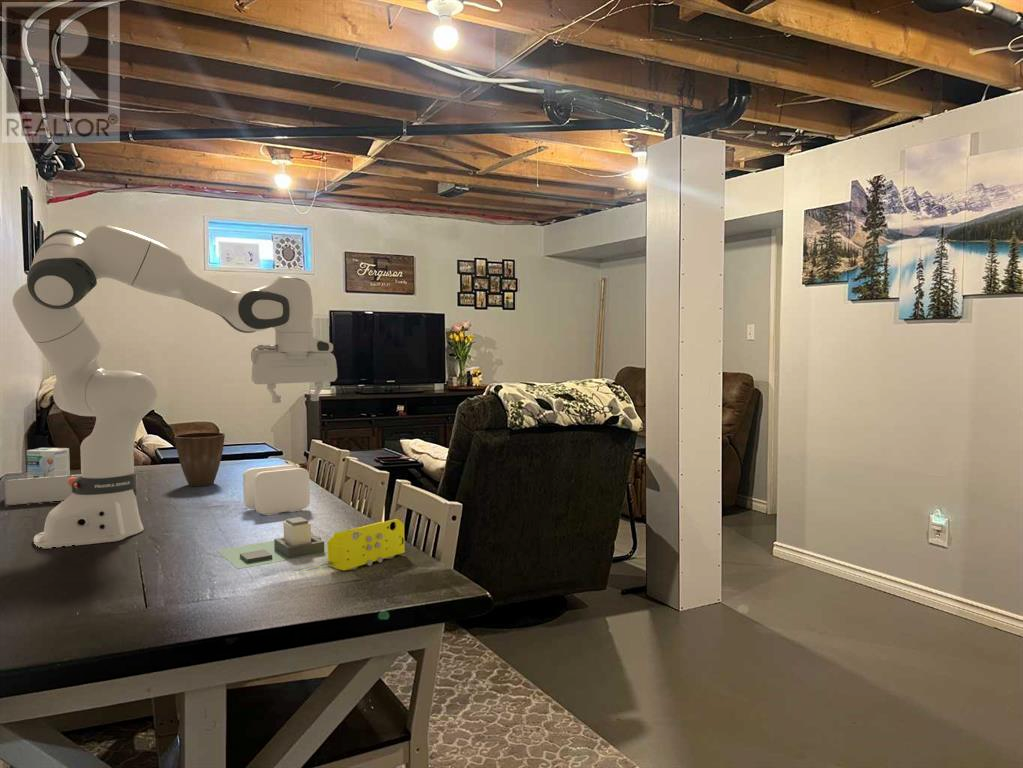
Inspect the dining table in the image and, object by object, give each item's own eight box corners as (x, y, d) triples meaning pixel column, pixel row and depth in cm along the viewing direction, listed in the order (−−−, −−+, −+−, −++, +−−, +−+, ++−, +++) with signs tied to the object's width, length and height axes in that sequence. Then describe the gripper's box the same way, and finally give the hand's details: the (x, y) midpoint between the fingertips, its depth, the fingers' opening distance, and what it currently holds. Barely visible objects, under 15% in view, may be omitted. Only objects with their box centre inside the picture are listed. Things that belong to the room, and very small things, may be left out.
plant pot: (184, 480, 243) (183, 432, 243) (231, 479, 245) (230, 431, 244) (169, 489, 229) (167, 438, 228) (218, 488, 230) (217, 437, 229)
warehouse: (126, 488, 232) (125, 464, 232) (125, 497, 219) (124, 471, 219) (12, 498, 218) (11, 473, 218) (4, 507, 206) (3, 481, 205)
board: (238, 576, 142) (237, 556, 142) (216, 557, 155) (215, 539, 155) (335, 558, 154) (335, 539, 154) (307, 541, 167) (307, 524, 167)
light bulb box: (26, 482, 241) (25, 450, 241) (43, 479, 248) (41, 447, 247) (55, 483, 239) (54, 450, 239) (71, 479, 246) (70, 447, 245)
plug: (292, 555, 151) (291, 523, 151) (284, 549, 155) (283, 519, 155) (313, 551, 154) (312, 520, 154) (304, 546, 158) (304, 515, 158)
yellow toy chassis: (345, 575, 144) (344, 533, 143) (327, 569, 147) (326, 528, 147) (406, 556, 156) (405, 517, 155) (388, 551, 160) (387, 513, 159)
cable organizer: (253, 518, 191) (252, 473, 190) (243, 510, 199) (242, 468, 199) (310, 510, 199) (309, 467, 198) (298, 503, 208) (297, 462, 207)
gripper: (255, 345, 169) (256, 405, 169) (339, 344, 181) (340, 400, 181) (246, 345, 174) (248, 403, 174) (329, 344, 186) (330, 399, 187)
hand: (295, 401), depth 178 cm, fingers open, 8 cm apart
